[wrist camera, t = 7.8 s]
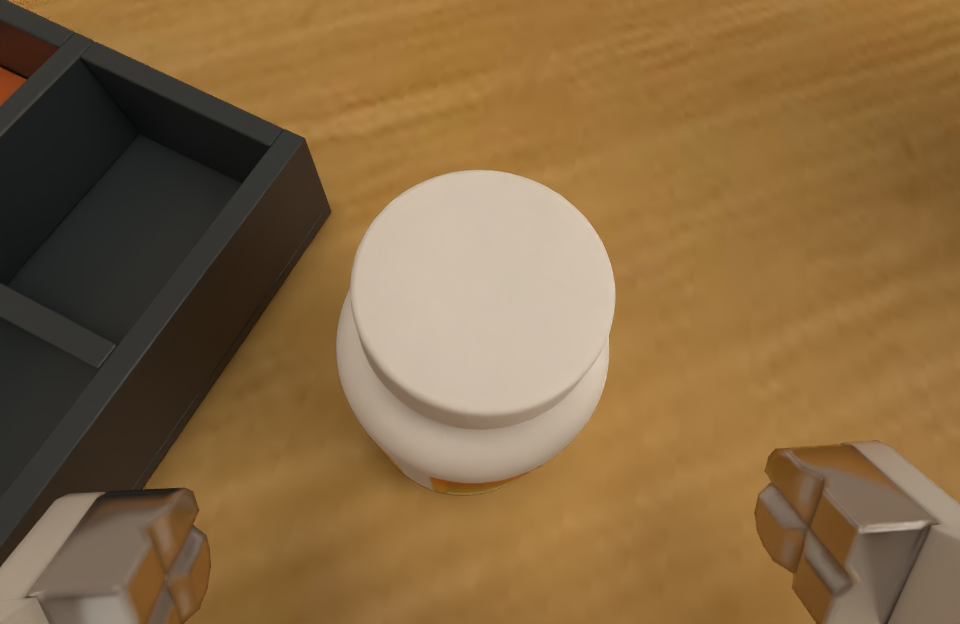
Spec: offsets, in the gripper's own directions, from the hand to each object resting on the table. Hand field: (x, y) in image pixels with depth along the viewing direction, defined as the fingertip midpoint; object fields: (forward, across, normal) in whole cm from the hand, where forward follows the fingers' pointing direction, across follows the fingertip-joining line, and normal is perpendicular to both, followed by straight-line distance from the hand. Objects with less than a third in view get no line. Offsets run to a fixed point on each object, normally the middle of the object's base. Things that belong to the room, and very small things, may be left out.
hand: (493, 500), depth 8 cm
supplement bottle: (+9, 0, +4) cm, 10 cm away
